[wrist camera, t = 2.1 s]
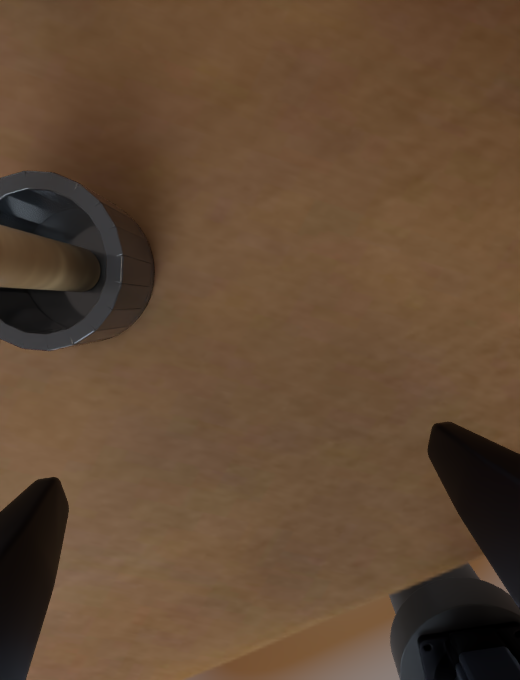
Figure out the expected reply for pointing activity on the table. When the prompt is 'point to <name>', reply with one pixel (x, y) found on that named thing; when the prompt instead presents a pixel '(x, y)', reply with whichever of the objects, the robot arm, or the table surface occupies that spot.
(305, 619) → the table surface
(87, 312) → the cup
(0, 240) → the muddler
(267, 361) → the table surface
